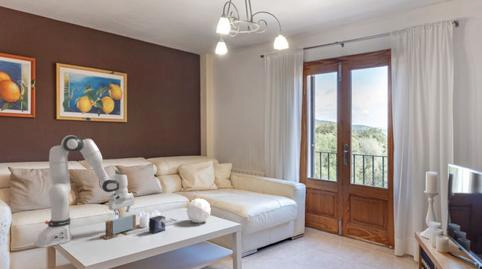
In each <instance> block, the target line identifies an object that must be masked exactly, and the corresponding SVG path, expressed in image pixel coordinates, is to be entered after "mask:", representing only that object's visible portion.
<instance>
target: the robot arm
mask: <svg viewBox="0 0 482 269" xmlns="http://www.w3.org/2000/svg"><path fill="white" fill-rule="evenodd" d="M78 151H79V152H80V153H81V154H82V156H83V159H84V160H85V162H86V163H87V165H89V166H90V167H91V168H92V169H93V170H94V172H95V174H96V176H97V178H98V183H99V188H101V190H103V192H106V193H112V192H114V193H113V194H110V195H109V196H108V199H109V200H108V210H110V211H113V212H114V215H115V216H118V215H119V212H118V209H123V208H126V209H125V212H126V213H129V212H130V209H131V206H134V205H135V197H134V193H132V192H130V193H129V190H128V186H129V184H128V183H129V181H128V176H127V175H126V174H125V173H121V172H117V173H115V174H114V175H113V176H109V175H108V174H107V172H106V170H105V168H104V166H103V156H102V153H101V151H100V149H99V147H98V146H97V144H96V143H95V142H94V140H93V139H91V138H84V139H81V138H79V137H78V136H76V135H72V134H69V135H66V136H65V137H63V139H61V142H60V144H58V145H54V146H52V147H51V148H50V150H49V154H48V155H49V156H48V157H49V158H48V164H49V176H50V179H51V184H52V186H51V187H50V189H49V190H48V198H49V204H50V220H49V221H48V220H45V222H44V224H46V225H48V226H47V227H45V229H42V231H41V232H40V233H39V234H38V236H37V238H38V239H37V240H36V241H34V242H33V245H34V246H36V247H38V248H48V247H52V246H56V245H57V246H58V245H62V244H65V243H69V242H70V241H71V240H72V239H73V236H72V233H71V217H70V203H69V194H70V193H71V191H72V190H71V189H72V188H71V181H70V179H71V178H70V175H69V163H68V162H69V161H68V156H69V153H70V152H71V153H72V152H78Z"/></svg>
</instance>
